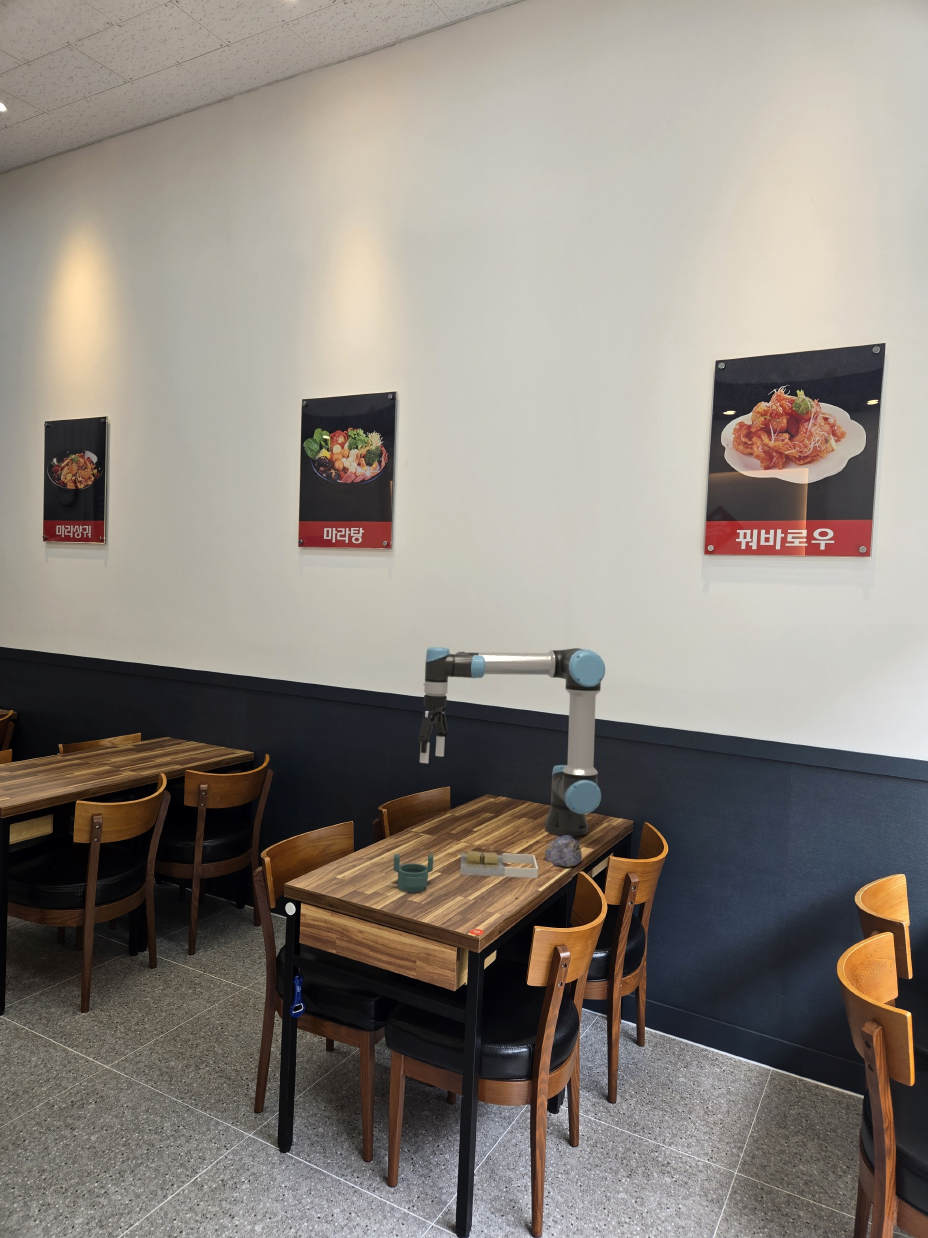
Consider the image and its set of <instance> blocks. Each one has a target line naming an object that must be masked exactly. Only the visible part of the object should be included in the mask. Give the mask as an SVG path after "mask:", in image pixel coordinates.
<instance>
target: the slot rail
mask: <svg viewBox="0 0 928 1238" xmlns="http://www.w3.org/2000/svg"><path fill="white" fill-rule="evenodd" d="M467 853H468V852H465V853H464V852H461V853H460V875H462V876H463V875H468V876H487V877H488V876H489V877H504V874H505V867H506V866H505V865H504V862H503V854H497V856H498V865H482V864H466V855H467Z"/></svg>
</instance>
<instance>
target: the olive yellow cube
mask: <svg viewBox="0 0 928 1238" xmlns="http://www.w3.org/2000/svg"><path fill="white" fill-rule="evenodd" d="M466 853H467V855H466V864H482V853H483V851H476V850H475V851H474V850H468V851H467V852H466Z"/></svg>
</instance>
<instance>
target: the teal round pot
mask: <svg viewBox="0 0 928 1238" xmlns="http://www.w3.org/2000/svg"><path fill="white" fill-rule="evenodd" d="M400 859H401V855H400V854H399V853H393V871H394V872H396V873H397V885H396V887H397V889H398V890H399V891H401V892H405V893H413V894H414V893H421V892H425V891H427V886H428V885H429V884H428V881H429V873H432V872H433V870H434V854H428V855H427V866H426V865H425V864H421V863H404V864H403V863H402V864H401V865H400Z"/></svg>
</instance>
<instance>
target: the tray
mask: <svg viewBox="0 0 928 1238" xmlns="http://www.w3.org/2000/svg"><path fill="white" fill-rule="evenodd" d="M502 855H503V863H507V864H508V863H509V864H510V863H511V864H526V865H527V864H532V867H513V866H512V867H511V866H504V867H505V874H504V876H503V877H504V878H507V877H508V878H525V879H526V878H529V879H538V878H539V867H538V863H537V860H536V856H535V855H534V854H526V853H525V854H524V853H523V854H522V853H503V852H502Z"/></svg>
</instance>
